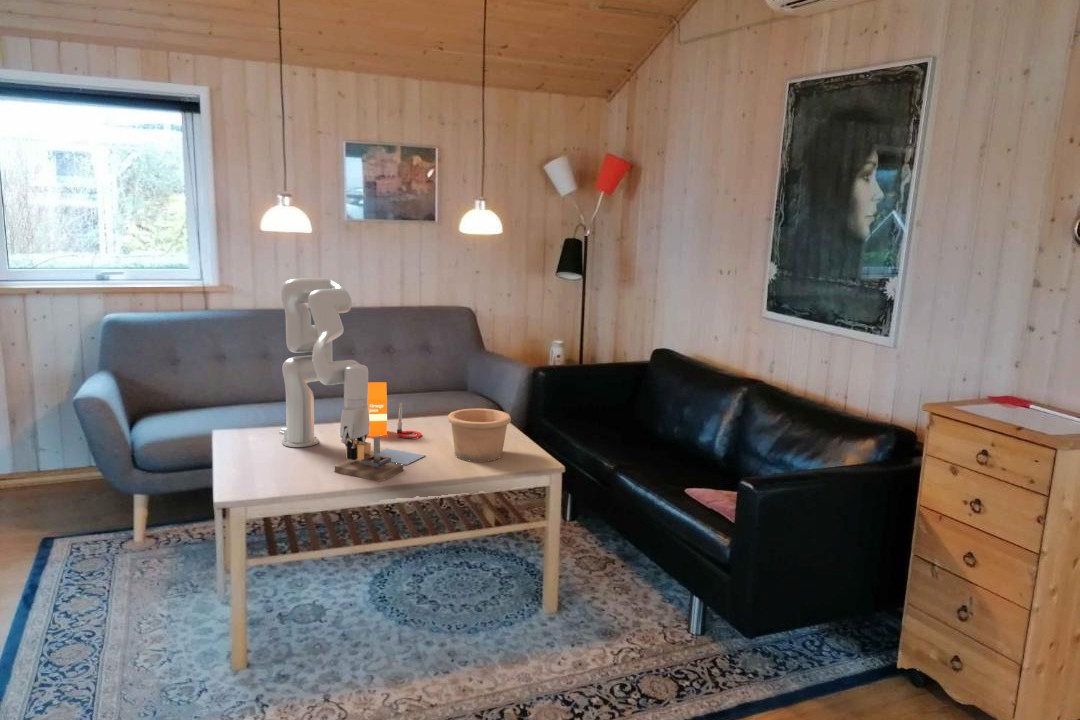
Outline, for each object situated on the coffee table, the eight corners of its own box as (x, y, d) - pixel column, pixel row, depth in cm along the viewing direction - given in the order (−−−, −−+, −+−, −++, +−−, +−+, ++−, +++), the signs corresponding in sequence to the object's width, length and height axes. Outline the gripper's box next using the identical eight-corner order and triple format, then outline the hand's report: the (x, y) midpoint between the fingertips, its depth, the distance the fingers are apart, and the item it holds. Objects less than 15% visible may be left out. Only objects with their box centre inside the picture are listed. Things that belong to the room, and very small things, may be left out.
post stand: (334, 472, 242) (334, 435, 239) (357, 462, 252) (357, 427, 250) (381, 481, 235) (381, 444, 233) (402, 470, 246) (403, 435, 243)
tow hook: (422, 434, 291) (398, 432, 290) (424, 402, 288) (400, 400, 288) (420, 440, 282) (395, 438, 282) (422, 407, 280) (397, 405, 280)
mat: (366, 458, 257) (366, 457, 257) (386, 449, 268) (386, 448, 268) (406, 465, 251) (406, 464, 251) (425, 456, 262) (425, 455, 262)
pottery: (450, 465, 253) (451, 424, 251) (445, 446, 274) (445, 408, 272) (514, 463, 258) (515, 423, 255) (503, 445, 279) (504, 407, 276)
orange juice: (387, 435, 285) (387, 384, 282) (363, 436, 283) (363, 384, 279) (385, 430, 292) (386, 380, 289) (362, 431, 290) (362, 380, 287)
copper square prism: (342, 459, 243) (343, 443, 242) (355, 454, 249) (356, 438, 248) (378, 467, 238) (378, 450, 237) (390, 461, 244) (391, 445, 243)
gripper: (362, 396, 251) (361, 449, 254) (329, 406, 236) (329, 462, 239) (380, 399, 248) (380, 452, 251) (349, 409, 233) (349, 466, 236)
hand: (355, 456), depth 245 cm, fingers closed on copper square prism, 3 cm apart
